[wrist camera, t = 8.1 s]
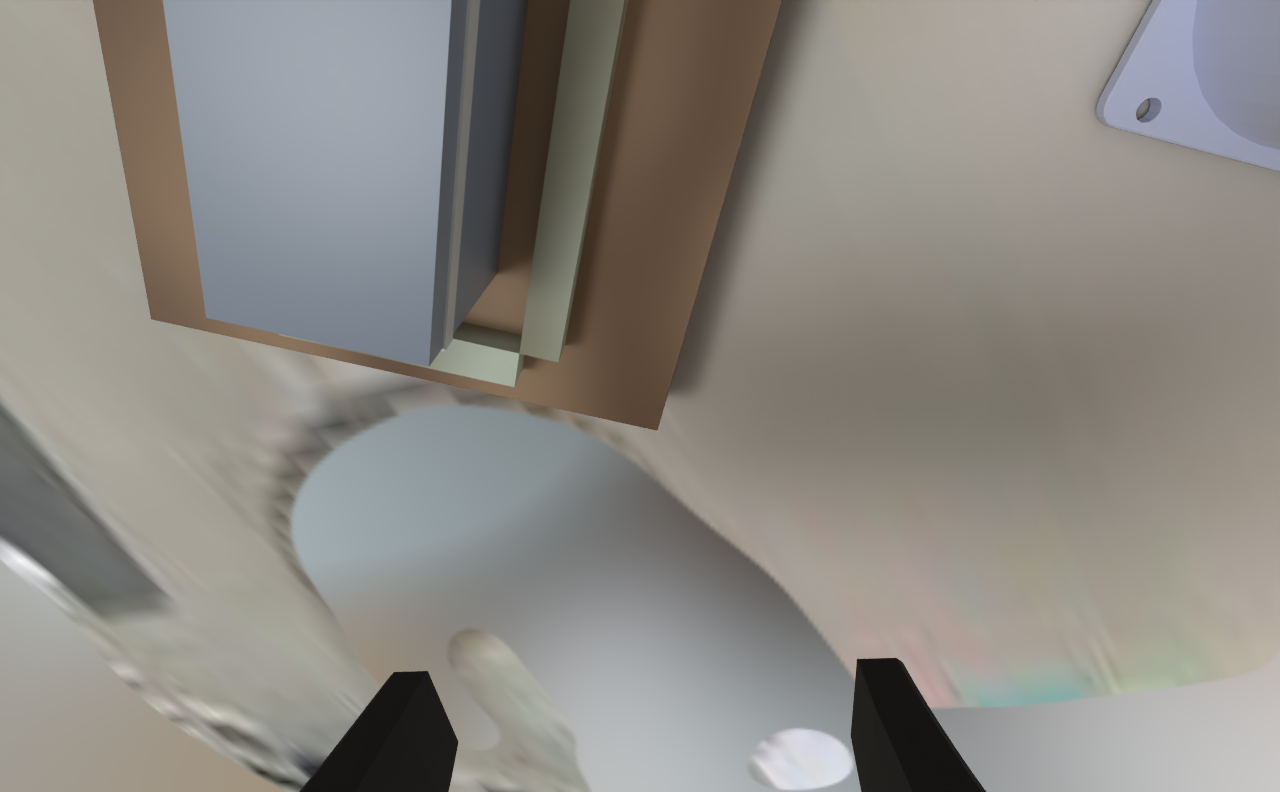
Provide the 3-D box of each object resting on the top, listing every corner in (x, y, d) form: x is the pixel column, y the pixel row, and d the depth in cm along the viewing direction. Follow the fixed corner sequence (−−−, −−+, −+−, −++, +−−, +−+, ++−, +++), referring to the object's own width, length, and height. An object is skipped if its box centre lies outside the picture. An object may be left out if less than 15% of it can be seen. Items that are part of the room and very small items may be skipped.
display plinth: (824, -191, 13) (861, -245, 10) (659, 395, 20) (656, 450, 17) (103, -402, 12) (-58, -520, 9) (199, 291, 19) (123, 334, 16)
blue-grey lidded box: (545, -127, 12) (469, -211, 8) (498, 276, 16) (431, 369, 12) (324, -187, 12) (116, -312, 7) (334, 238, 16) (203, 320, 11)
